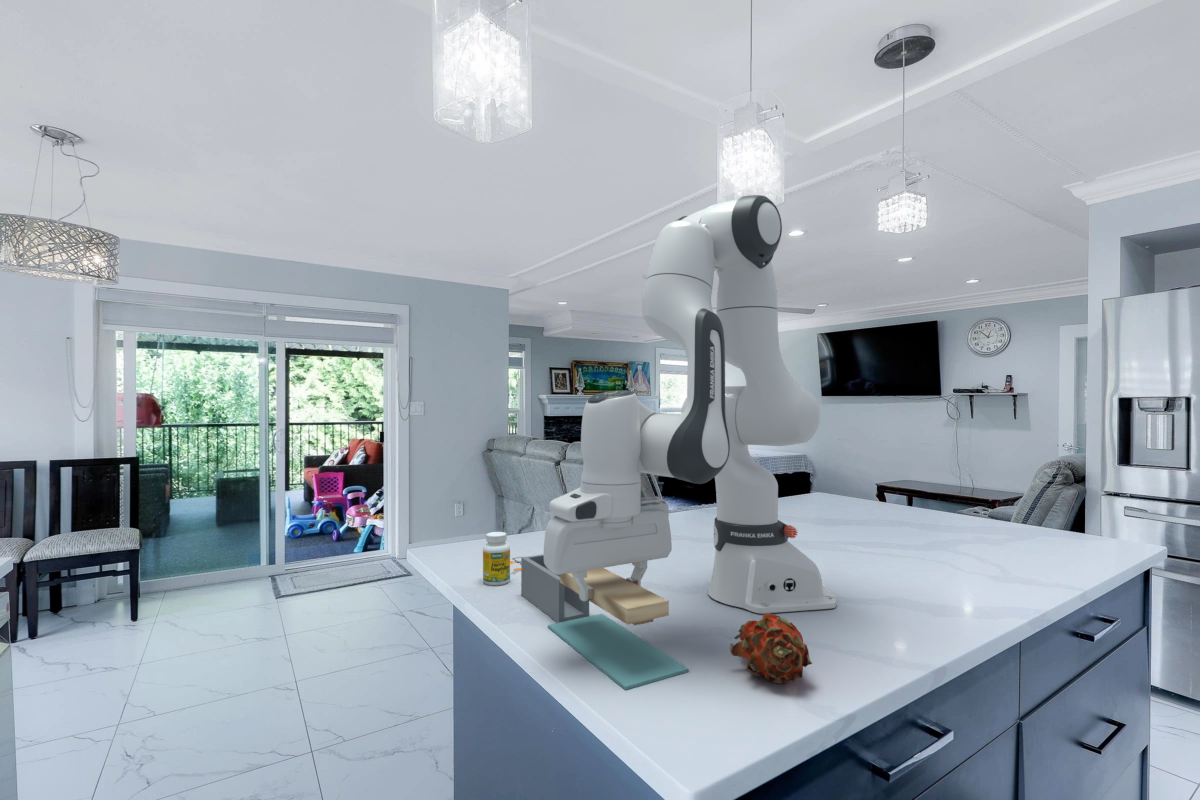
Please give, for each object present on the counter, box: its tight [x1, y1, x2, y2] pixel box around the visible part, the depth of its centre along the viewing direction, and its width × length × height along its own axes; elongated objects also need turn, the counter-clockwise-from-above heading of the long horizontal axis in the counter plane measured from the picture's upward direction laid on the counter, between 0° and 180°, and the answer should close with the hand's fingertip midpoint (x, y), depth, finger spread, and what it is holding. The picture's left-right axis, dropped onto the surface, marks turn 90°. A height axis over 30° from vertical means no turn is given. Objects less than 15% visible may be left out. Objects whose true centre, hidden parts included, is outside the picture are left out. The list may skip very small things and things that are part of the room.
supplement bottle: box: [482, 531, 511, 586], centre depth 115 cm, size 5×5×10 cm
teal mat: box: [547, 613, 690, 691], centre depth 84 cm, size 23×10×1 cm, turn 30°
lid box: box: [520, 553, 590, 623], centre depth 101 cm, size 16×6×7 cm, turn 30°
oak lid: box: [560, 567, 670, 626], centre depth 84 cm, size 20×7×3 cm, turn 30°
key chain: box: [510, 556, 522, 575], centre depth 127 cm, size 13×7×1 cm, turn 20°
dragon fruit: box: [729, 613, 813, 685], centre depth 76 cm, size 8×8×12 cm
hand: (610, 595), depth 84 cm, fingers closed on oak lid, 7 cm apart
